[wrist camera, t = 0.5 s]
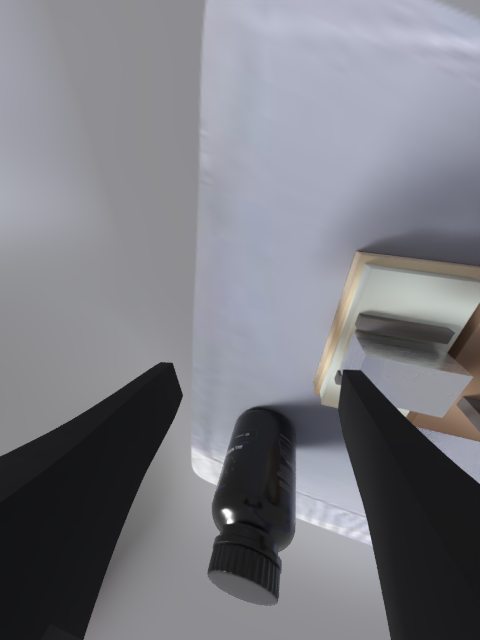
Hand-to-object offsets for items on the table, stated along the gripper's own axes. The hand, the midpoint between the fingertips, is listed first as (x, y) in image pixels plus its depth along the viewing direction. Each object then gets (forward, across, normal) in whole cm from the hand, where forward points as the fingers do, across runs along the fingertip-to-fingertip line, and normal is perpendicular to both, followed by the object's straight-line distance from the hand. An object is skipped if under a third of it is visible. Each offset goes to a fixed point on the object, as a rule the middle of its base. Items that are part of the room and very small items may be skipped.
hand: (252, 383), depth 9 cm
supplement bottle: (+9, +1, +16) cm, 18 cm away
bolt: (+6, -8, +3) cm, 10 cm away
